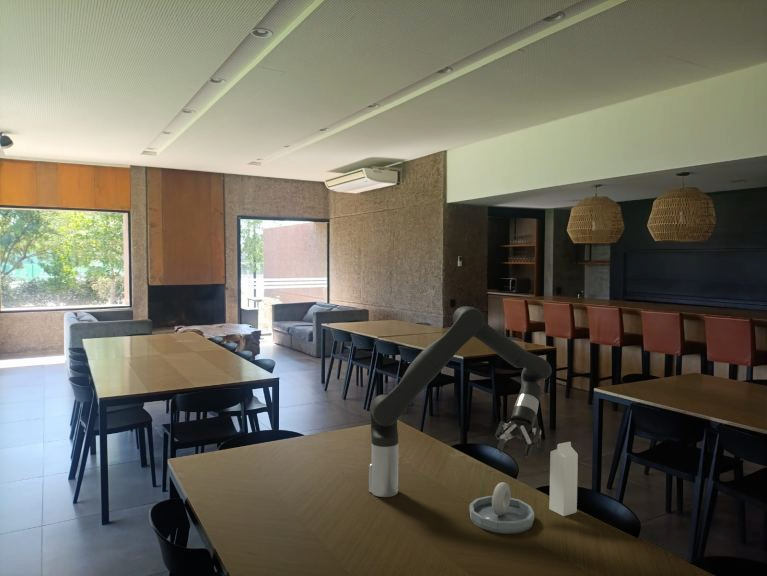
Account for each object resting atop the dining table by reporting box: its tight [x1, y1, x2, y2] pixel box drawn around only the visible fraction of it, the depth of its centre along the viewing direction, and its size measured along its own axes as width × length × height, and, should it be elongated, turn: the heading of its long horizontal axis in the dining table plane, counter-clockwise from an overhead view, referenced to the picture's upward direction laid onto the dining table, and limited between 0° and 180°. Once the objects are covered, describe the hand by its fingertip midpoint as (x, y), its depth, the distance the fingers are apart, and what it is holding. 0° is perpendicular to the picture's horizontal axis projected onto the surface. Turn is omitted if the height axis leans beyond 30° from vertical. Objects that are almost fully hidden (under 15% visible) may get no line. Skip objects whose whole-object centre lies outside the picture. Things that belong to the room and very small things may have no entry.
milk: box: [548, 441, 579, 517], centre depth 178 cm, size 6×6×22 cm
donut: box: [492, 482, 512, 516], centre depth 172 cm, size 10×3×10 cm, turn 148°
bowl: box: [469, 495, 535, 535], centre depth 172 cm, size 19×19×3 cm
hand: (512, 453), depth 179 cm, fingers open, 8 cm apart
